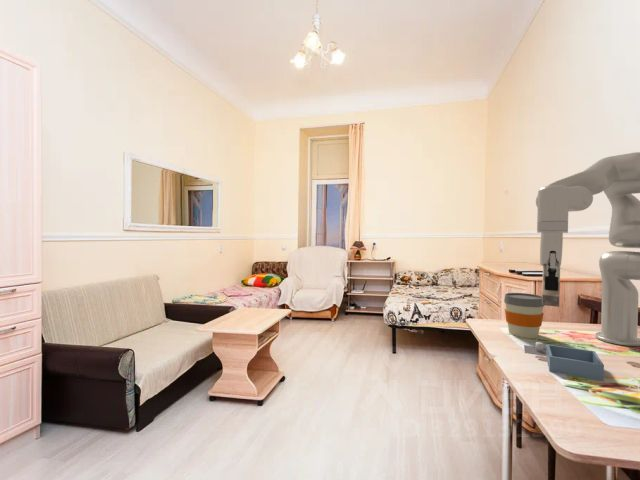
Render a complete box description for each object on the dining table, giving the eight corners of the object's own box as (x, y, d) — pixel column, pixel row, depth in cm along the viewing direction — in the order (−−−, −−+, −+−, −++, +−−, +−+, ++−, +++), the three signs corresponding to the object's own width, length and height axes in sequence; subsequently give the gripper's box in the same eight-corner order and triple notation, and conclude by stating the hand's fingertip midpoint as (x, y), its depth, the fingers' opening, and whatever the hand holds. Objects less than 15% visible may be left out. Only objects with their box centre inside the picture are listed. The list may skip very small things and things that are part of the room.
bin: (546, 360, 99) (546, 344, 99) (594, 368, 93) (594, 351, 93) (549, 374, 89) (549, 356, 89) (603, 384, 84) (603, 365, 83)
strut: (558, 304, 100) (559, 264, 100) (559, 306, 96) (560, 265, 96) (542, 302, 102) (542, 263, 102) (542, 305, 99) (543, 264, 98)
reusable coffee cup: (535, 332, 126) (536, 293, 126) (550, 343, 114) (551, 300, 114) (499, 330, 129) (499, 292, 129) (509, 340, 117) (510, 298, 117)
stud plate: (524, 348, 110) (524, 337, 110) (553, 352, 106) (553, 341, 106) (524, 355, 103) (524, 344, 103) (556, 361, 99) (556, 349, 99)
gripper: (536, 228, 108) (535, 284, 108) (537, 227, 94) (536, 292, 94) (565, 228, 104) (563, 286, 104) (571, 227, 90) (569, 295, 90)
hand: (550, 288), depth 99 cm, fingers closed on strut, 4 cm apart
